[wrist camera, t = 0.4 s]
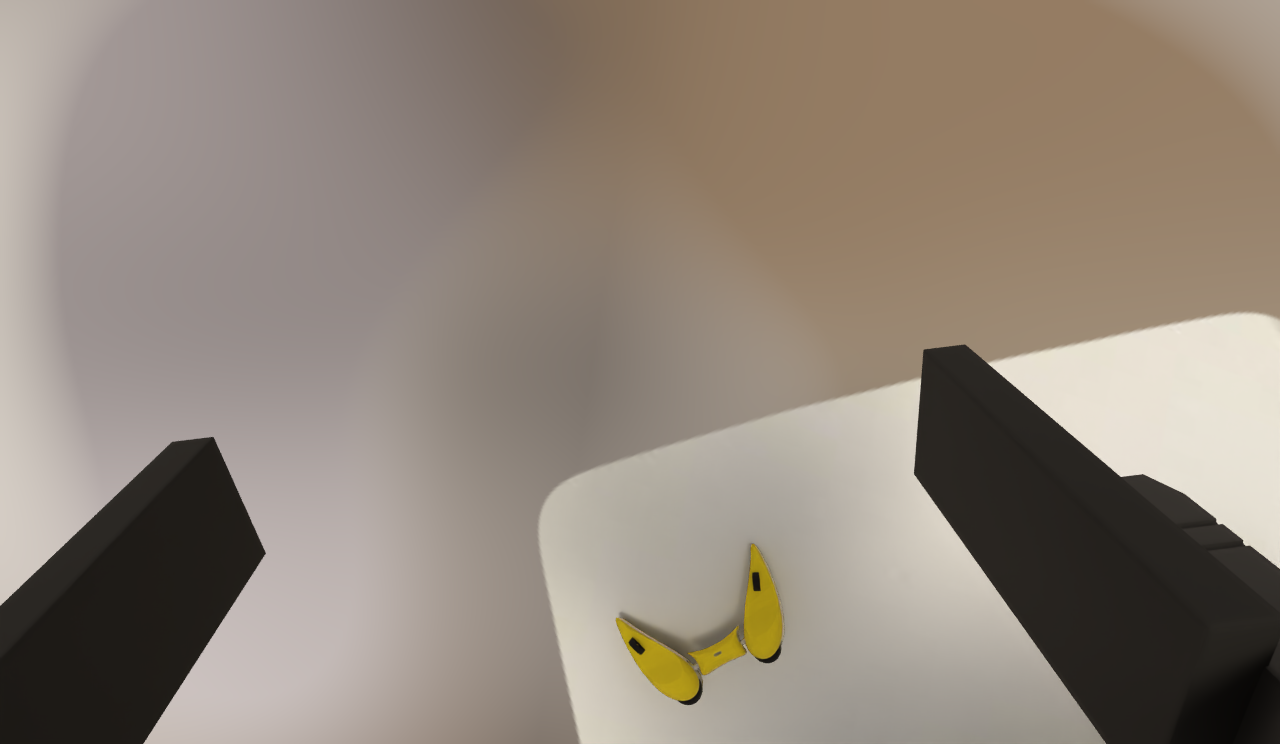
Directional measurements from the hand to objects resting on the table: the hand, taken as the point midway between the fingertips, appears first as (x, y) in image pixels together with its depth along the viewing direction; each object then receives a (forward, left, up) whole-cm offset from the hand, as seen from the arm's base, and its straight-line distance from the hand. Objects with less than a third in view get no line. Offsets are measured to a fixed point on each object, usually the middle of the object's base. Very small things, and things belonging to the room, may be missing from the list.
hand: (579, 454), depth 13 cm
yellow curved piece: (-10, +8, -32) cm, 34 cm away
